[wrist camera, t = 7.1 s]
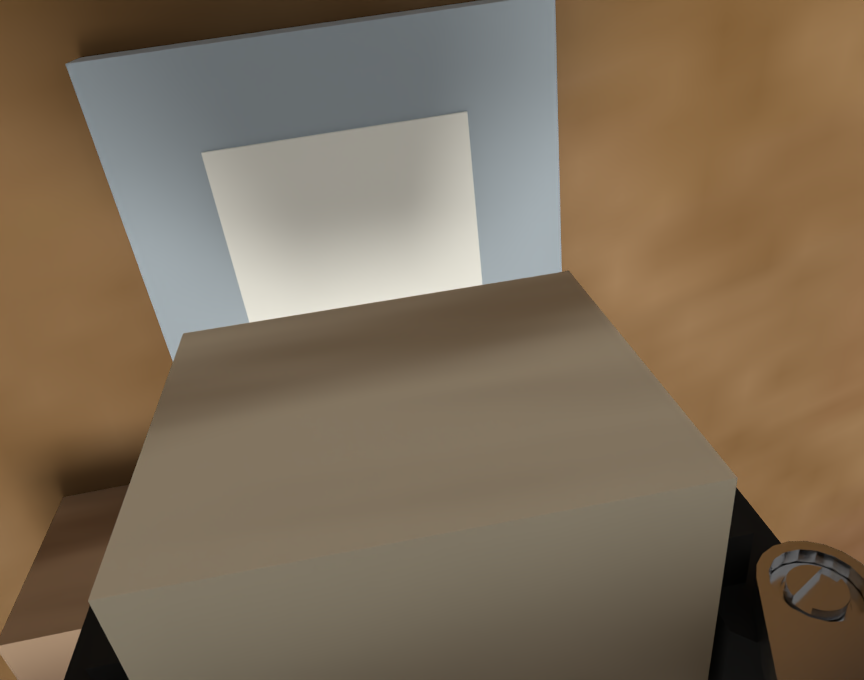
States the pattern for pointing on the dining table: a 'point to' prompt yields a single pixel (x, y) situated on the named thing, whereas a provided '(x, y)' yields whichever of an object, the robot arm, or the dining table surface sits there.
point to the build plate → (333, 160)
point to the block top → (60, 586)
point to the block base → (419, 501)
